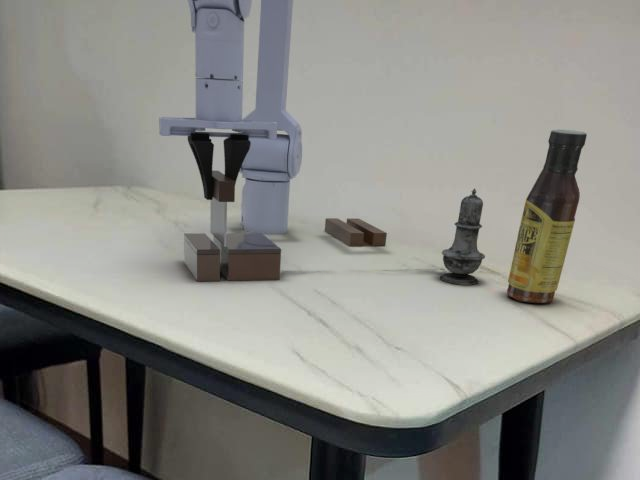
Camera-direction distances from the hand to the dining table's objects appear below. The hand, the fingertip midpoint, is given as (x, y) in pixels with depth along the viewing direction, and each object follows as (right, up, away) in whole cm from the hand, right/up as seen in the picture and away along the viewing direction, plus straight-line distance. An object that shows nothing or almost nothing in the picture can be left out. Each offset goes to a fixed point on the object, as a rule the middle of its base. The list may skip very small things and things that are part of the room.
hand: (218, 198), depth 95 cm
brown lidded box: (+3, -8, +6) cm, 10 cm away
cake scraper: (0, -5, +2) cm, 5 cm away
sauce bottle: (+41, -13, 0) cm, 43 cm away
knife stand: (+20, +2, +25) cm, 32 cm away
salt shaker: (+33, -9, +7) cm, 35 cm away
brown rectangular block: (-3, -8, +4) cm, 10 cm away
